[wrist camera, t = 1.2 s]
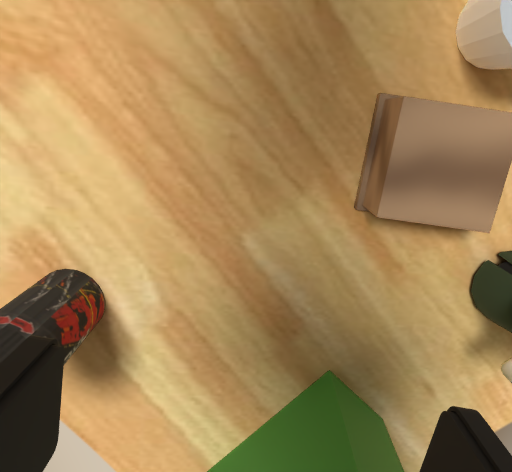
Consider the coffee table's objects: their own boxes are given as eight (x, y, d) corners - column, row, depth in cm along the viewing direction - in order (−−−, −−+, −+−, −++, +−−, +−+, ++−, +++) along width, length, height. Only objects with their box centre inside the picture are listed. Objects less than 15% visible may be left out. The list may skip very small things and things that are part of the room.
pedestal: (377, 93, 31) (399, 88, 26) (491, 110, 31) (533, 109, 27) (354, 207, 34) (369, 221, 29) (460, 222, 34) (493, 239, 29)
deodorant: (40, 261, 35) (-115, 360, 21) (109, 278, 35) (6, 386, 21) (32, 323, 37) (-116, 455, 22) (99, 338, 37) (-4, 478, 22)
